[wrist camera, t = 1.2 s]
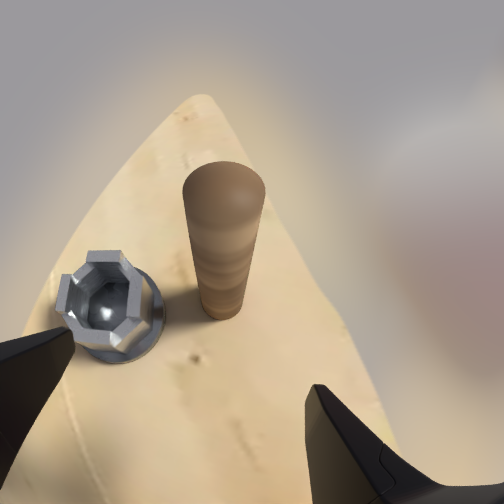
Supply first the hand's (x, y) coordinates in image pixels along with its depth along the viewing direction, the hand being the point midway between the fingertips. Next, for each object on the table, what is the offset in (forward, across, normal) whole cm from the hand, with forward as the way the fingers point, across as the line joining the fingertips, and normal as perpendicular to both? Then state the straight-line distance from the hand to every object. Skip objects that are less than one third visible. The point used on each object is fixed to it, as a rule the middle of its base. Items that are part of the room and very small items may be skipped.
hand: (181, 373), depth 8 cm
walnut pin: (+15, 0, +4) cm, 15 cm away
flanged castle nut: (+12, +9, +6) cm, 17 cm away
